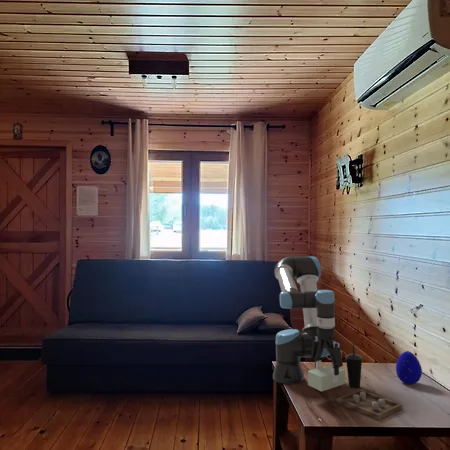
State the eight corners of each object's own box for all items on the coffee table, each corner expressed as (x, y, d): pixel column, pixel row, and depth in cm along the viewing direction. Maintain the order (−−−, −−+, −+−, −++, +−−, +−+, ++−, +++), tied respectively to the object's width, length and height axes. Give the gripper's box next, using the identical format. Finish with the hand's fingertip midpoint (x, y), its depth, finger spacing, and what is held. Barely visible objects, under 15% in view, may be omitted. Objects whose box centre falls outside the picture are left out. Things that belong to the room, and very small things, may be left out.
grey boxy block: (321, 391, 169) (321, 377, 169) (307, 384, 176) (307, 371, 176) (344, 383, 176) (344, 370, 176) (331, 377, 183) (330, 364, 183)
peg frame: (336, 403, 171) (336, 394, 171) (360, 393, 181) (360, 385, 181) (378, 420, 155) (378, 411, 155) (402, 409, 164) (402, 400, 164)
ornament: (424, 383, 192) (423, 351, 192) (418, 389, 185) (417, 355, 185) (399, 378, 199) (398, 347, 199) (393, 383, 192) (392, 351, 192)
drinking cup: (364, 390, 185) (363, 345, 185) (346, 389, 186) (345, 345, 186) (362, 383, 192) (361, 341, 192) (345, 383, 194) (344, 340, 194)
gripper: (301, 323, 182) (302, 373, 183) (339, 333, 165) (340, 389, 165) (313, 320, 187) (314, 369, 187) (351, 330, 169) (352, 384, 170)
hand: (326, 378), depth 176 cm, fingers closed on grey boxy block, 8 cm apart
